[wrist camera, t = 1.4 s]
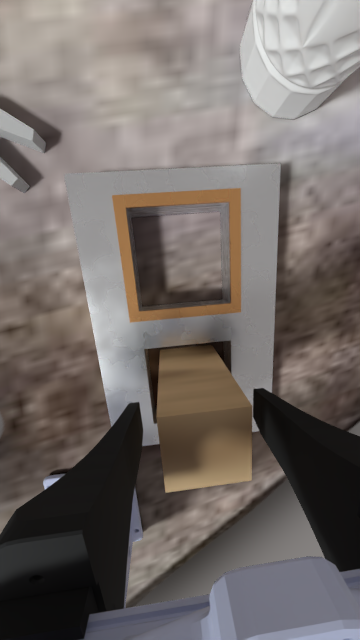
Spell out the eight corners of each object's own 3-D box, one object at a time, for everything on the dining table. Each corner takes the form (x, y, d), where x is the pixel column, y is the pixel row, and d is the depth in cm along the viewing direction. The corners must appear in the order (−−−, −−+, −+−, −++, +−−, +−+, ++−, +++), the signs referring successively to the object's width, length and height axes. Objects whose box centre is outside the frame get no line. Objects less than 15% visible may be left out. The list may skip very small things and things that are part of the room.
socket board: (259, 413, 19) (271, 431, 17) (120, 430, 18) (115, 451, 16) (264, 178, 14) (282, 161, 12) (78, 188, 13) (61, 172, 11)
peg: (213, 390, 18) (251, 480, 10) (164, 395, 18) (165, 492, 10) (211, 344, 17) (252, 406, 9) (160, 349, 17) (156, 417, 9)
